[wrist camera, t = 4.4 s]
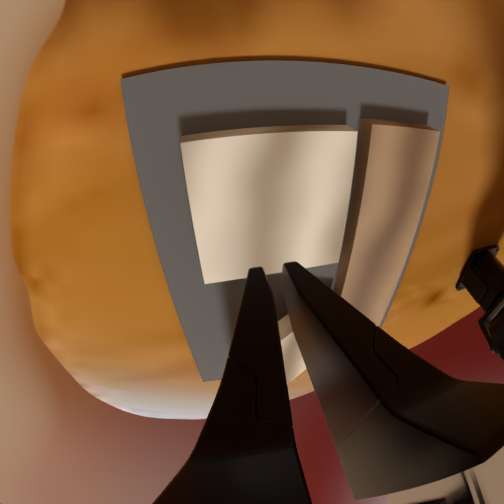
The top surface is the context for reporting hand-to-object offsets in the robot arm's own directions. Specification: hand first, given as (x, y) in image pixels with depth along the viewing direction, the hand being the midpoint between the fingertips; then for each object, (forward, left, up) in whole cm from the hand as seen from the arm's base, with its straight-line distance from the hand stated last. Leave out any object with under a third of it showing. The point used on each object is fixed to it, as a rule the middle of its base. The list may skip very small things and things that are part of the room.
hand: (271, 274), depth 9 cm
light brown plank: (-11, +10, -10) cm, 18 cm away
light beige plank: (-2, +3, -10) cm, 11 cm away
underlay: (-5, +10, -11) cm, 15 cm away
